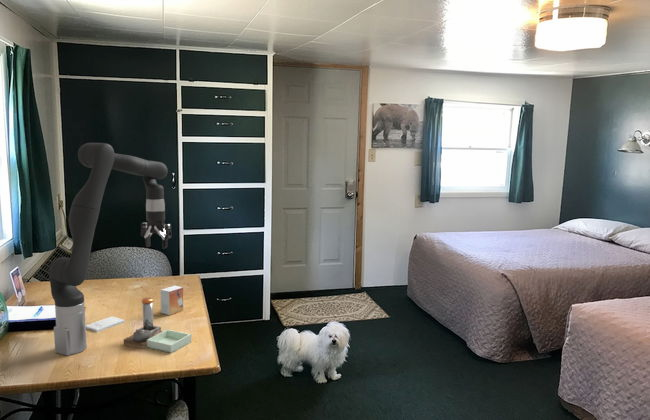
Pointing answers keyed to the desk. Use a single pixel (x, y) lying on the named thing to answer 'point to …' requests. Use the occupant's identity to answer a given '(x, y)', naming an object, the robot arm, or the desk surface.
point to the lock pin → (147, 313)
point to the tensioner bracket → (141, 337)
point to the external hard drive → (104, 324)
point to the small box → (171, 300)
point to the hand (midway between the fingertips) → (156, 247)
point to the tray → (169, 341)
